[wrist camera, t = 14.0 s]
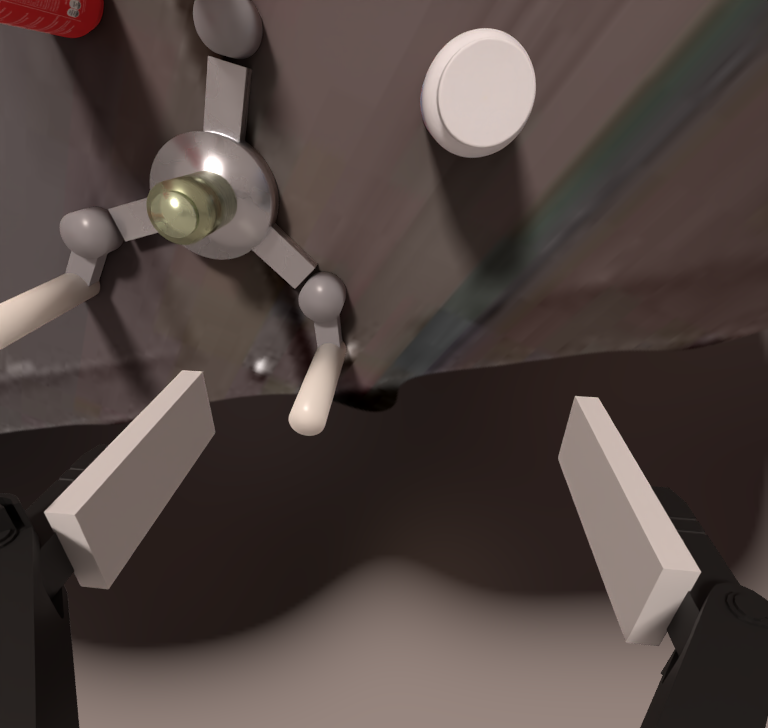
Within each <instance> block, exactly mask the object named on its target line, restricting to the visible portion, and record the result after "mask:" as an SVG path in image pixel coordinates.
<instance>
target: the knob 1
mask: <svg viewBox="0 0 768 728" xmlns="http://www.w3.org/2000/svg"><path fill="white" fill-rule="evenodd" d="M60 233H61V236H62V239H63V241H64V242H65V244H66V245H67V247H68V248H69V249H70V250H71V255H70V258H69V262H68V266H67V269H66V273H65V274H64V275H61V276H59V277H57V278H55V279H53V280H51V281H48V282H46V283H44V284H42V285H40V286H37V287H35V288H33V289H31V290H29V291H27V292H24V293H22V294H20V295H18V296H16V297H14V298H11V299H9V300H7V301H5V302H3V303H0V350H1V349H2V348H4V347H6V346H8V345H9V344H11V343H13V342H15V341H16V340H18V339H20V338H22V337H23V336H25V335H27V334H29V333H30V332H32V331H34V330H36V329H37V328H39V327H41V326H43V325H44V324H46V323H48V322H50V321H51V320H53V319H55V318H57V317H58V316H60V315H62V314H64V313H65V312H67V311H69V310H71V309H72V308H74V307H76V306H78V305H79V304H81V303H83V302H85V301H86V300H88V299H90V298H92V297H93V296H95V295H97V294H98V293H99V291H100V283H99V279H100V276H101V273H102V270H103V267H104V263H105V260H106V257H107V254H108V253H109V252H111V251H114V250H116V249H118V248H119V247H120V246H121V245H122V243H123V240H124V238H123V236H122V234H121V232H120V231H119V229H118V227H117V225H116V223H115V221H114V219H113V217H112V216H111V214H110V212H109V211H108V210H106V209H104V208H101V207H89V208H86V209H82V210H79V211H75V212H72V213H69V214H67V215H65V216H64V217H63V218H62V220H61V223H60Z"/></svg>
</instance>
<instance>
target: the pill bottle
mask: <svg viewBox="0 0 768 728" xmlns="http://www.w3.org/2000/svg"><path fill="white" fill-rule="evenodd" d="M535 93H536V81H535V73H534V69H533V65H532V62H531V60H530V58H529V56H528V54H527V52H526V51H525V49H524V48H523V46H522V45H521V44H520V43H519V42H518V41H517V40H516V39H514V38H513V37H512V36H510V35H509V34H507V33H505V32H503V31H500V30H496V29H489V28H483V29H475V30H471V31H468V32H465V33H463V34H460V35H459V36H457V37H455V38H454V39H452V40H451V41H450V42H449V43H447V44H446V45H445V46H444V47H443V48H442V49H441V51H440V52H439V53H438V54H437V56H436V57H435V58H434V60H433V62H432V64H431V65H430V68H429V70H428V72H427V75H426V78H425V80H424V83H423V86H422V90H421V96H420V109H421V115H422V118H423V121H424V124H425V126H426V128H427V130H428V131H429V133H430V134H431V135H432V137H433V138H434V139H435V140H436V141H437V142H438V144H440V145H441V146H442V147H443V148H444V149H446V150H447V151H449V152H451V153H453V154H455V155H458V156H462V157H467V158H477V157H483V156H488V155H491V154H493V153H495V152H498V151H499V150H501V149H503V148H504V147H506V146H507V145H508V144H509V143H511V142H512V141H513V140H514V139H515V138H516V137H517V135H518V134H519V133H520V132H521V130H522V129H523V127H524V126H525V124H526V122H527V120H528V118H529V116H530V113H531V111H532V107H533V104H534V99H535Z"/></svg>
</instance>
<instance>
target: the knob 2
mask: <svg viewBox="0 0 768 728" xmlns="http://www.w3.org/2000/svg"><path fill="white" fill-rule="evenodd" d="M346 294H347V293H346V287H345V285H344V283H343V281H342V280H341V279H340V278H339V277H338V276H337V275H335V274H333V273H330V272H318V273H315V274H314V275H312V276H311V277H310V278H309V279H308V281H307V282H306V284H305V285H304V287H303V288H302V290H301V292H300V294H299V306H300V308H301V310H302V312H303V313H304V314H305V315H306V316H307V317H308V318H309V319H311V320H313V321H314V325H315V332H316V339H317V346H318V348H317V350H316V353H315V355H314V358H313V360H312V362H311V365H310V367H309V369H308V372H307V374H306V377H305V379H304V381H303V384H302V386H301V389H300V391H299V393H298V396H297V398H296V400H295V403H294V405H293V408H292V410H291V413H290V415H289V423H290V425H291V427H292V428H293V429H294V430H295V431H296V432H298V433H300V434H302V435H306V436H312V435H316V434H318V433H320V432H321V431H322V430H323V429H324V427H325V423H326V420H327V417H328V413H329V410H330V406H331V403H332V400H333V396H334V393H335V389H336V386H337V383H338V379H339V376H340V372H341V369H342V365H343V362H344V359H345V355H346V351H347V349H346V345H345V343H344V342H343V341H342V333H341V324H340V312H341V310H342V307H343V305H344V302H345V299H346Z"/></svg>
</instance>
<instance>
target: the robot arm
mask: <svg viewBox="0 0 768 728" xmlns="http://www.w3.org/2000/svg"><path fill="white" fill-rule="evenodd" d="M214 434H215V428H214V424H213V419H212V415H211V409H210V404H209V400H208V395H207V390H206V385H205V380H204V376H203V372H200V371H184V370H182V371H181V372H180V373H179V374H178V375H177V376H176V377H175V378H174V379H173V380H172V381H171V382H170V383H169V384H168V385H167V386H166V388H165V389H164V390H163V391H162V392H161V393H160V394H159V395H158V396H157V397H156V398H155V399H154V400H153V401H152V402H151V403H150V404H149V405H148V406H147V407H146V408H145V409H144V410H143V411H142V412H141V413H140V414H139V415H138V416H137V417H136V418H135V419H134V420H133V421H132V422H131V423H130V424H129V426H127V427H126V428H125V430H123V432H121V434H120V435H119V436H118V437H117V438H116V439H115V440H114V441H113V442H112V443H111V444H110V445H107V444H100V445H98V446H97V447H95V448H94V449H92V450H90V451H88V452H87V453H85V454H83V455H82V456H81V457H80V458H79V459H78V460H77V461H76V462H75V463H74V464H73V465H72V466H71V467H70V470H67V471H66V472H65V473H64V474H63V475H62V476H61V477H60V479H59V480H57V481H56V482H55V483H53V484H52V485H51V487H49V488H48V489H47V490H46V491H45V492H44V493H43V494H42V495H41V496H40V497H39V498H38V499H37V500H36V501H35V502H34V503H33V504H32V505H31V506H30V507H29V508H28V509H27V510H26V511H25V510H24V509H23V507H22V505H21V503H20V501H19V499H18V497H17V496H15V495H12V494H0V728H79V720H78V707H77V696H76V686H75V673H74V663H73V650H72V639H71V627H70V616H69V604H68V593H67V591H66V588H65V586H64V583H65V582H66V581H67V580H68V578H69V577H70V576H71V574H72V573H73V572H74V574H75V576H76V577H77V579H78V582H79V583H80V586H84V587H93V588H104V589H109V588H110V586H111V585H112V583H113V581H114V580H115V579H116V577H117V576H118V574H119V573H120V571H121V570H122V568H123V567H124V566H125V564H126V563H127V561H128V560H129V558H130V557H131V555H132V554H133V552H134V551H135V549H136V548H137V546H138V545H139V543H140V542H141V541H142V539H143V538H144V536H145V535H146V533H147V532H148V530H149V529H150V527H151V526H152V525H153V523H154V521H155V520H156V519H157V517H158V516H159V514H160V513H161V511H162V510H163V508H164V507H165V505H166V504H167V503H168V501H169V499H170V498H171V496H172V495H173V494H174V492H175V491H176V489H177V488H178V486H179V485H180V483H181V482H182V481H183V479H184V478H185V476H186V475H187V473H188V472H189V470H190V469H191V467H192V466H193V464H194V463H195V461H196V460H197V458H198V457H199V456H200V454H201V452H202V451H203V450H204V448H205V447H206V445H207V444H208V442H209V441H210V440H211V438H212V436H213V435H214ZM558 460H559V462H560V465H561V468H562V470H563V473H564V476H565V479H566V481H567V484H568V487H569V489H570V492H571V495H572V498H573V500H574V503H575V506H576V508H577V511H578V514H579V516H580V519H581V522H582V524H583V528H584V530H585V533H586V536H587V538H588V541H589V544H590V547H591V549H592V552H593V555H594V557H595V560H596V563H597V565H598V568H599V571H600V573H601V576H602V579H603V582H604V584H605V587H606V590H607V593H608V595H609V598H610V601H611V603H612V606H613V609H614V612H615V614H616V617H617V620H618V622H619V625H620V628H621V630H622V633H623V636H624V639H625V641H626V643H634V644H645V645H654V646H659V645H660V643H661V642H662V640H663V638H664V636H665V635H666V633H667V632H668V634H669V636H670V638H671V640H672V643H673V645H674V647H675V650H674V652H673V654H672V655H671V657H670V659H669V660H668V662H667V664H666V665H665V667H664V668H663V670H662V672H661V674H662V675H663V676H662V678H661V681H660V683H659V685H658V688H657V690H656V692H655V695H654V697H653V699H652V702H651V704H650V706H649V709H648V711H647V713H646V716H645V718H644V720H643V723H642V725H641V727H640V728H765V727H766V722H767V717H768V601H767V600H766V599H765V598H763V597H762V596H760V595H759V594H757V593H756V592H754V591H753V590H750V589H748V588H746V587H743V586H741V585H740V584H739V583H738V581H737V580H736V578H735V576H734V575H733V574H732V572H731V570H730V569H729V567H728V566H727V565H726V563H725V561H724V560H723V558H722V557H721V555H720V554H719V552H718V551H717V549H716V548H715V546H714V545H713V543H712V542H711V540H710V539H709V537H708V535H705V531H704V529H703V528H702V526H701V525H700V523H699V522H698V521H696V517H695V516H694V514H693V513H692V511H691V510H690V508H689V507H688V505H687V503H686V502H685V501H684V500H682V499H681V498H680V497H679V496H678V495H677V494H676V493H674V492H673V491H672V490H671V489H670V488H664V487H652V486H650V485H649V483H648V481H647V479H646V478H645V476H644V474H643V473H642V471H641V469H640V468H639V466H638V464H637V463H636V461H635V459H634V458H633V456H632V454H631V452H630V451H629V449H628V447H627V446H626V444H625V442H624V441H623V439H622V437H621V436H620V434H619V432H618V430H617V429H616V427H615V425H614V424H613V422H612V420H611V419H610V417H609V415H608V413H607V412H606V410H605V408H604V407H603V405H602V403H601V402H600V400H599V398H595V397H580V396H575V398H574V402H573V406H572V409H571V413H570V416H569V420H568V424H567V428H566V431H565V435H564V439H563V442H562V446H561V450H560V453H559V456H558Z"/></svg>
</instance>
